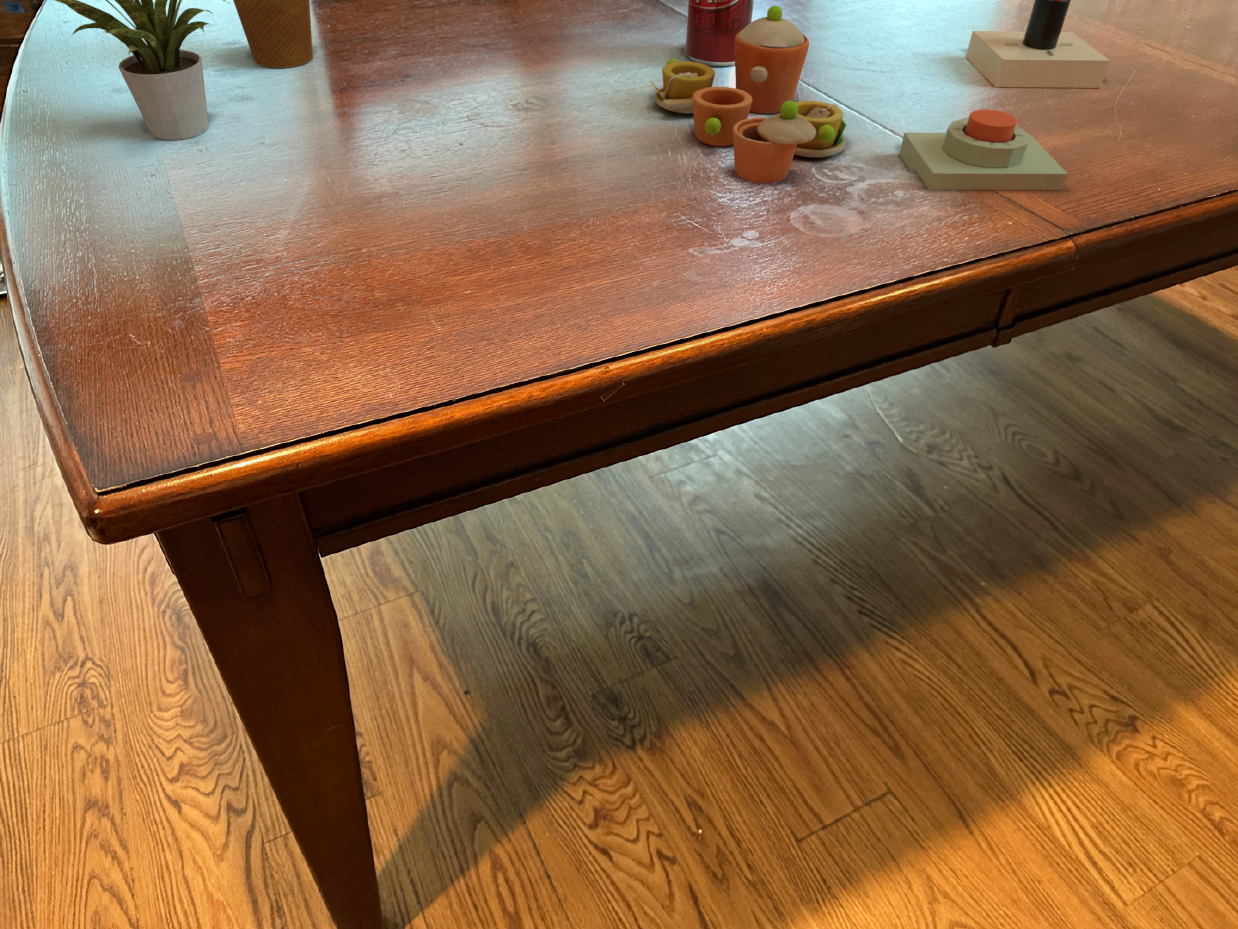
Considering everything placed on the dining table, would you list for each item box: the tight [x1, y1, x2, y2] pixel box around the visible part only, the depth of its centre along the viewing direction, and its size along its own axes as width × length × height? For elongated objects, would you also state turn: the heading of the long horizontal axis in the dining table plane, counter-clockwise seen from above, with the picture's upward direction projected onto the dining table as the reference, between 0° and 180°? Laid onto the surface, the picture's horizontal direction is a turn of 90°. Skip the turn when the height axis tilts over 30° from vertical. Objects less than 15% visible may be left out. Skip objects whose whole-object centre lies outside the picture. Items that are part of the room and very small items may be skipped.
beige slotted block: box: [965, 30, 1111, 89], centre depth 106 cm, size 12×10×3 cm
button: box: [965, 108, 1018, 143], centre depth 82 cm, size 4×4×2 cm
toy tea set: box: [649, 5, 848, 184], centre depth 88 cm, size 26×16×10 cm, turn 17°
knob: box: [1023, 0, 1072, 50], centre depth 103 cm, size 4×4×5 cm
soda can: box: [684, 0, 755, 67], centre depth 104 cm, size 7×7×12 cm
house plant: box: [54, 0, 214, 141], centre depth 84 cm, size 14×14×16 cm
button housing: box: [898, 117, 1068, 191], centre depth 84 cm, size 12×9×4 cm
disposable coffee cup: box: [232, 0, 314, 69], centre depth 100 cm, size 10×10×12 cm
